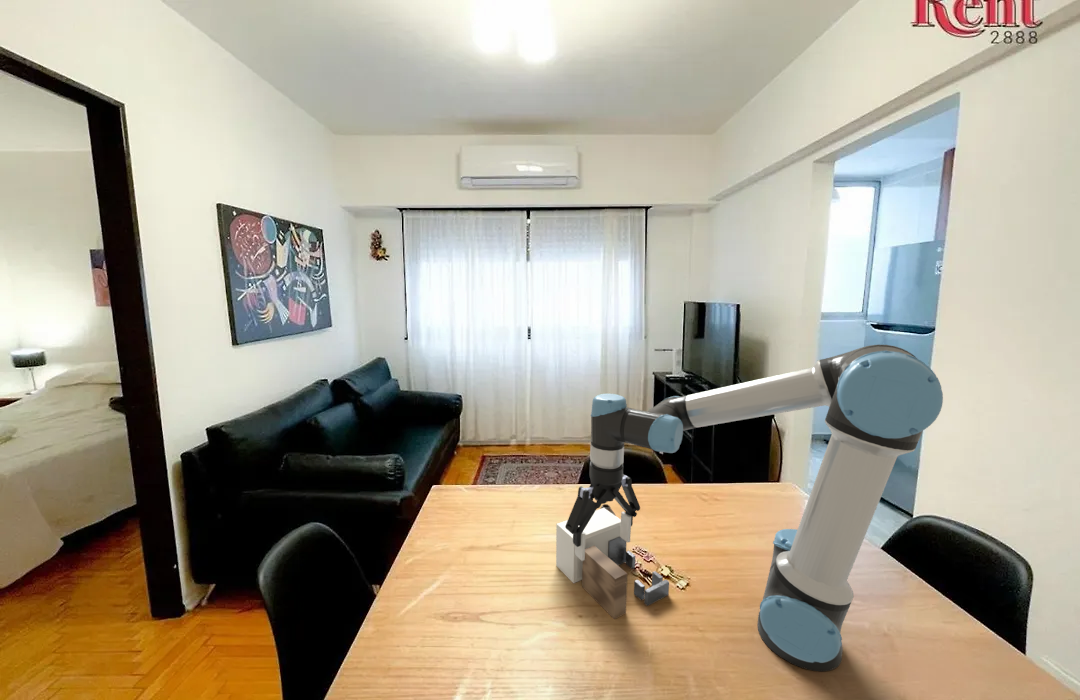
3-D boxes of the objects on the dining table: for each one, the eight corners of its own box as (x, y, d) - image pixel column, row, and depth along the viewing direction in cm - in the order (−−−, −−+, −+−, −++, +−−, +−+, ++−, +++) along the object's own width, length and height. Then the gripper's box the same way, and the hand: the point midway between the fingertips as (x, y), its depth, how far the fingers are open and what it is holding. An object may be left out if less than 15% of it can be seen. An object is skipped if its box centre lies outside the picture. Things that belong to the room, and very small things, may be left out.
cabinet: (622, 562, 112) (623, 521, 111) (573, 583, 104) (574, 539, 102) (602, 546, 119) (603, 507, 117) (556, 565, 111) (556, 523, 109)
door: (625, 613, 95) (627, 573, 93) (614, 619, 93) (615, 578, 92) (593, 581, 105) (594, 545, 104) (582, 586, 103) (582, 549, 102)
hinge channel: (668, 594, 100) (670, 564, 99) (647, 606, 97) (648, 574, 96) (626, 560, 113) (627, 533, 112) (606, 569, 110) (606, 541, 108)
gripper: (635, 446, 104) (631, 525, 107) (551, 467, 91) (549, 555, 94) (658, 457, 97) (653, 540, 100) (570, 481, 85) (568, 575, 88)
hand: (603, 548), depth 97 cm, fingers open, 13 cm apart
